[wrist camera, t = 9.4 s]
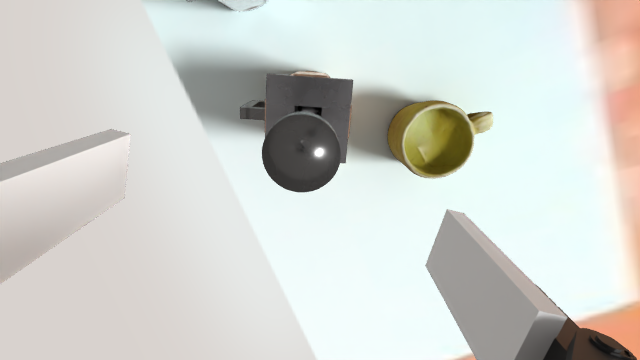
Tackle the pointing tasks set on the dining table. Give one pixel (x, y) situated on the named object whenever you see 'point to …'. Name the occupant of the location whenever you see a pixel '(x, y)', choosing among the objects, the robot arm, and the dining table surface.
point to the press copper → (305, 101)
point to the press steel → (241, 4)
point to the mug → (435, 137)
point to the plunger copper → (301, 150)
